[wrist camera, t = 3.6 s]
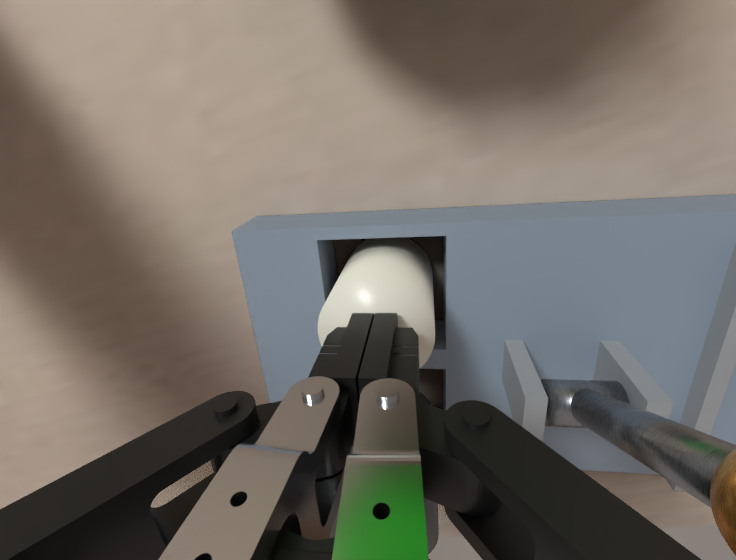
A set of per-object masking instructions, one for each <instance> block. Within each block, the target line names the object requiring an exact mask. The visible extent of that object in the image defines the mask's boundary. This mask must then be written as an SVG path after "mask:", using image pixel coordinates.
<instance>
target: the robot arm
mask: <svg viewBox="0 0 736 560" xmlns="http://www.w3.org/2000/svg"><path fill="white" fill-rule="evenodd" d="M419 376H420V373H419V336H418V335H417V333H416V332H415V331H414V329H413V328H400V327H398V316H397V313H375V314H374V313H352V315H351V317H350V320H349V323H348V325H347V327H337V328H335V329H334V330H333V331H332V332H331V333H329V334H328V335H327V337H326V339H325V341H324V343H323V346H322V348H321V350H320V352H319V354H318V356H317V359H316V361H315V363H314V365H313V367H312V370H311V372H310V374H309V376H308V378H306V379H303V380H300V381H299V382H297V383H295V384H294V385H293V386H292V387H291V388H290V389H289V390H288V392H287V393H286V395H285V397H284V398H283V400H281V401H278V402H273V403H268V404H263V405H258V406H256V404H255V400H254V398H253V396H252V395H250V394H249V393H247V392H243V391H232V392H227V393H224V394H221V395H218V396H216V397H214V398H212V399H210V400H208V401H207V402H205V403H203V404H201V405H199V406H197V407H195V408H193V409H191V410H189V411H187V412H186V413H184V414H182V415H180V416H178V417H176V418H174V419H172V420H170V421H168V422H166V423H165V424H163V425H161V426H159V427H157V428H155V429H153V430H151V431H149V432H147V433H145V434H144V435H142V436H140V437H138V438H136V439H134V440H132V441H130V442H128V443H126V444H124V445H123V446H121V447H119V448H117V449H115V450H113V451H111V452H109V453H107V454H105V455H103V456H101V457H100V458H98V459H96V460H94V461H92V462H90V463H88V464H86V465H84V466H82V467H80V468H79V469H77V470H75V471H73V472H71V473H69V474H67V475H65V476H63V477H61V478H59V479H58V480H56V481H54V482H52V483H50V484H48V485H46V486H44V487H42V488H40V489H38V490H37V491H35V492H33V493H31V494H29V495H27V496H25V497H23V498H21V499H19V500H17V501H16V502H14V503H12V504H10V505H8V506H6V507H4V508H2V509H0V560H430V559H428V548H427V535H426V522H425V508H424V498H426V499H428V500H431V501H433V502H436V503H438V504H440V505H443V506H444V508H445V511H446V514H447V516H448V517H449V519H450V520H451V522H452V523H453V524H454V525H455V526H456V528H457V529H458V530H459V531H460V532H461V534H462V535H463V536H464V537H465V539H466V540H467V541H468V542H469V543H470V545H471V546H472V547H473V548H474V549H475V551H476V552H477V553H478V554H479V555H480V557H481V558H482V559H483V560H701V559H700V558H698V557H697V556H696V555H694V554H693V553H692V552H690V551H689V550H688V549H686V548H685V547H684V546H682V545H681V544H679V543H678V542H677V541H675V540H674V539H673V538H671V537H670V536H669V535H667V534H666V533H665V532H663V531H662V530H661V529H659V528H658V527H657V526H655V525H654V524H653V523H651V522H650V521H648V520H647V519H646V518H644V517H643V516H642V515H640V514H639V513H638V512H636V511H635V510H634V509H632V508H631V507H630V506H628V505H627V504H626V503H624V502H623V501H621V500H620V499H619V498H617V497H616V496H615V495H613V494H612V493H611V492H609V491H608V490H607V489H605V488H604V487H603V486H601V485H600V484H599V483H597V482H596V481H595V480H593V479H592V478H590V477H589V476H588V475H586V474H585V473H584V472H582V471H581V470H580V469H578V468H577V467H576V466H574V465H573V464H572V463H570V462H569V461H568V460H566V459H565V458H564V457H562V456H561V455H559V454H558V453H557V452H555V451H554V450H553V449H551V448H550V447H549V446H547V445H546V444H545V443H543V442H542V441H541V440H539V439H538V438H537V437H535V436H534V435H532V434H531V433H530V432H528V431H527V430H526V429H524V428H523V427H522V426H520V425H519V424H518V423H516V422H515V421H514V420H512V419H511V418H510V417H508V416H507V415H506V414H504V413H503V412H501V411H500V410H499V409H497V408H496V407H494V406H492V405H490V404H488V403H485V402H482V401H476V400H466V401H461V402H458V403H455V404H453V405H452V406H451V407H450V408H448V410H443V409H440V408H437V407H434V406H432V405H430V404H429V403H427V402H426V401H424V400H423V399H422V398H421V396H420V395H419ZM352 447H353V454H350V453H351V448H352ZM208 461H211V464H212V467H213V471H214V473H213V474H211V475H209V476H208V477H206V478H205V479H203V480H202V481H200V482H199V483H197V484H196V485H194V486H193V487H191V488H189V489H188V490H186V491H185V492H183V493H182V494H180V495H179V496H177V497H176V498H174V499H173V500H171V501H169V502H168V503H166V504H165V505H163V506H160V507H157V508H152V507H151V503H152V501H153V499H154V498H155V497H156V495H157V494H158V493H159V492H161V491H162V490H163V489H165V488H166V487H168V486H170V485H171V484H173V483H174V482H176V481H178V480H179V479H181V478H182V477H184V476H186V475H187V474H189V473H190V472H192V471H194V470H195V469H197V468H198V467H200V466H202V465H203V464H205V463H206V462H208ZM339 503H340V506H339ZM338 507H339V513H338V519H337V526H336V533H335V537H333V538H329V536H330V533H331V530H332V526H333V523H334V520H335V516H336V513H337V510H338Z"/></svg>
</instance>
